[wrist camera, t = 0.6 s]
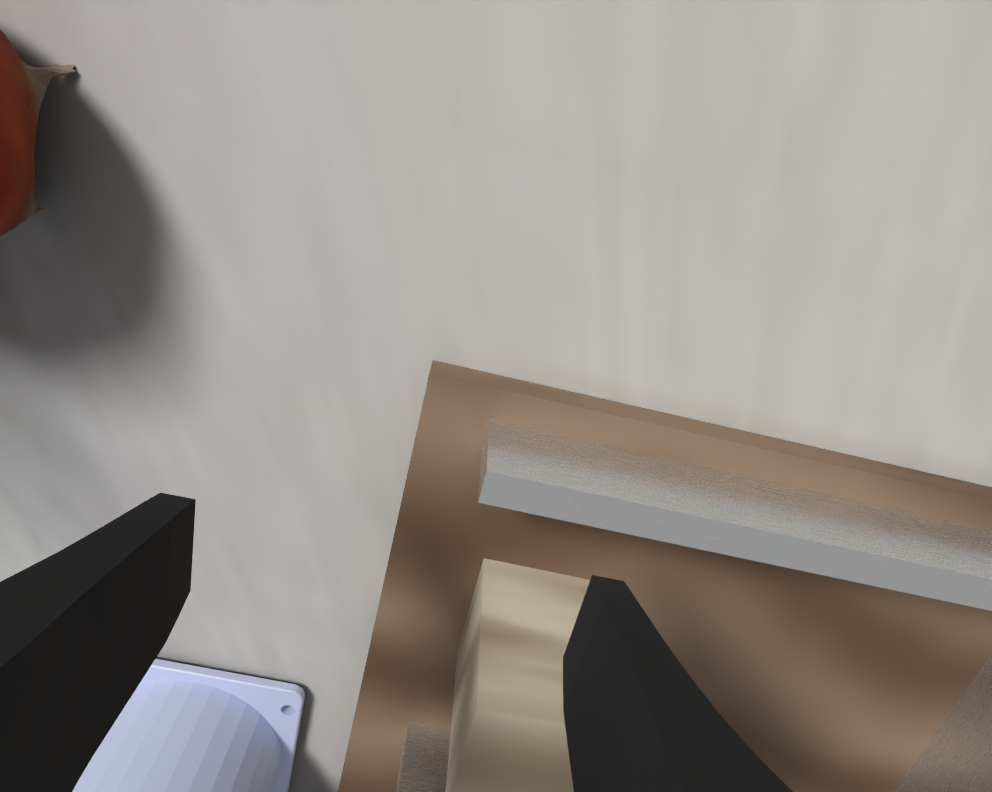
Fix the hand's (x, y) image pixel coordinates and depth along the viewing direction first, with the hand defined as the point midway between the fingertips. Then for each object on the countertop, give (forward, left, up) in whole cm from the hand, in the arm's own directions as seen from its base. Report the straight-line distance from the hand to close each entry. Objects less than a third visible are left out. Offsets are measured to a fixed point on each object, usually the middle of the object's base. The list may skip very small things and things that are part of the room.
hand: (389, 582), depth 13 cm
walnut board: (-12, -12, -10) cm, 19 cm away
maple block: (-8, -5, -9) cm, 12 cm away
